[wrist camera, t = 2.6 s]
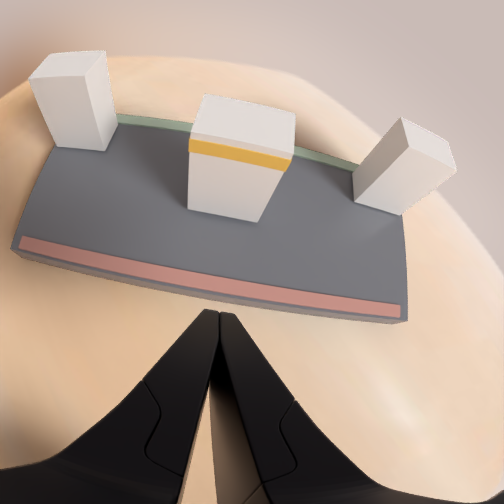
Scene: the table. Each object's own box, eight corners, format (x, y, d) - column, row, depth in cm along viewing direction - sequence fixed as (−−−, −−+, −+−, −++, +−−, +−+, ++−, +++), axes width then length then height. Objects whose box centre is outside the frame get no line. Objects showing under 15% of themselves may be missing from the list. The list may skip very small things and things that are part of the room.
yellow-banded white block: (257, 223, 21) (294, 155, 14) (186, 209, 20) (189, 132, 13) (262, 187, 22) (296, 113, 15) (196, 173, 21) (204, 92, 14)
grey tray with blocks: (393, 324, 23) (484, 299, 14) (21, 257, 18) (-51, 199, 9) (386, 188, 28) (447, 130, 19) (79, 125, 23) (55, 43, 14)
